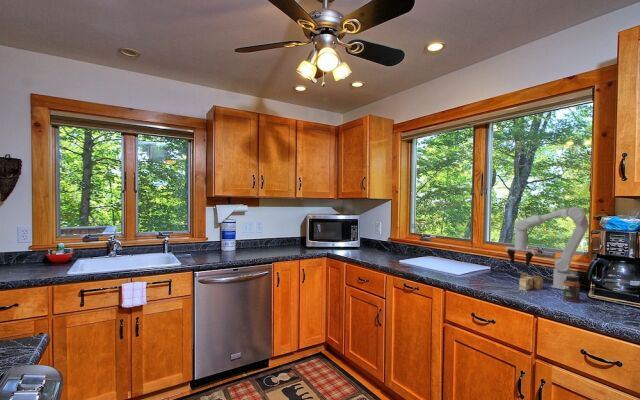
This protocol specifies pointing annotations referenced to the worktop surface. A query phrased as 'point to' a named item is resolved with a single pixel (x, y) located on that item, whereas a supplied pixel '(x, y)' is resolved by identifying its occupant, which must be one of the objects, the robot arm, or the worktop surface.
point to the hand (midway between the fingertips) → (519, 264)
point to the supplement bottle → (571, 289)
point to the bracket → (535, 281)
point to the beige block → (526, 283)
